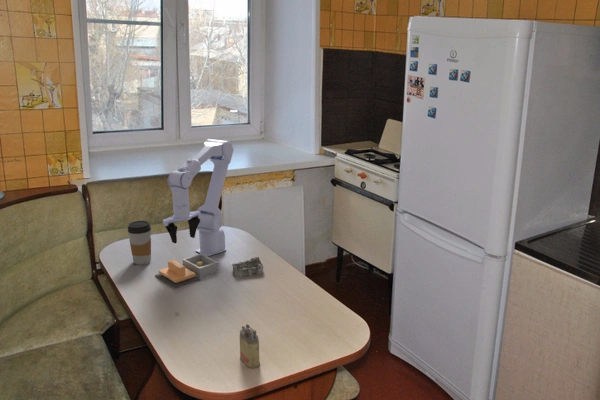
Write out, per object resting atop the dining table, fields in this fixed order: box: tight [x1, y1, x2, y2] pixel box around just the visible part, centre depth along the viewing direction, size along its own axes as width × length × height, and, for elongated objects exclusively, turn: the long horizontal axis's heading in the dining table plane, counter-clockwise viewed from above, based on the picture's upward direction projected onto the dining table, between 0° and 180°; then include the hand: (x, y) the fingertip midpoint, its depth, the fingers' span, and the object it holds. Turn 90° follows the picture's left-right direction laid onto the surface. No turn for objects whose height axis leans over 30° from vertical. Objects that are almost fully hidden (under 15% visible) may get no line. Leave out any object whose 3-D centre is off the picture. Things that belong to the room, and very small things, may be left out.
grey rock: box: [231, 256, 264, 278], centre depth 205 cm, size 11×8×4 cm
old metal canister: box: [239, 323, 261, 369], centre depth 150 cm, size 7×4×10 cm, turn 34°
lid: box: [158, 259, 196, 283], centre depth 199 cm, size 8×11×5 cm
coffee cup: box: [127, 220, 152, 266], centre depth 212 cm, size 8×8×15 cm
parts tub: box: [182, 253, 220, 279], centre depth 207 cm, size 8×11×4 cm
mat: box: [154, 273, 201, 289], centre depth 200 cm, size 10×13×1 cm
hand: (183, 239), depth 207 cm, fingers open, 7 cm apart
